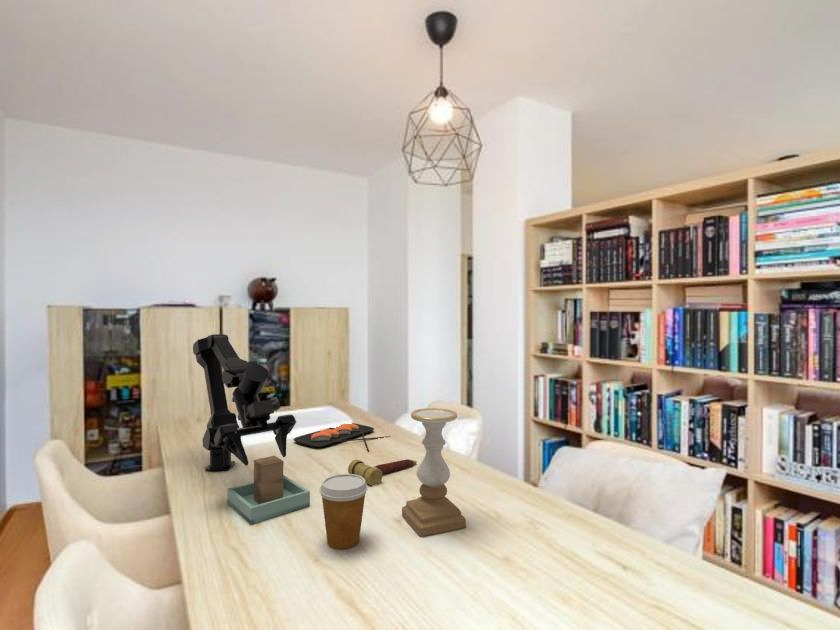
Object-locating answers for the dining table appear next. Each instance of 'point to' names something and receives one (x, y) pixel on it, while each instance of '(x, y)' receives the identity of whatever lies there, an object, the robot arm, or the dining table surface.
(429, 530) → the candle holder
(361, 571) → the dining table surface
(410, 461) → the gavel
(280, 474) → the walnut block
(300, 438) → the sushi plate
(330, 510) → the disposable coffee cup
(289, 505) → the box
